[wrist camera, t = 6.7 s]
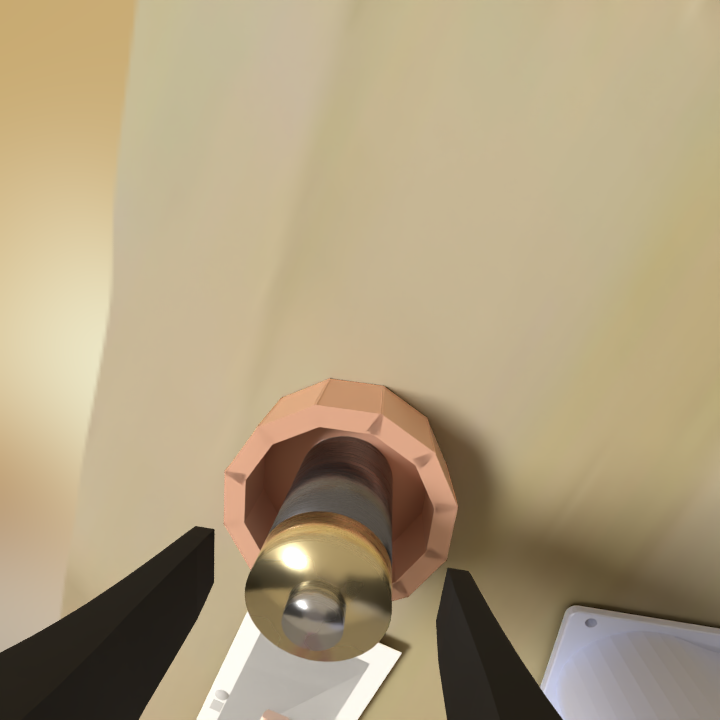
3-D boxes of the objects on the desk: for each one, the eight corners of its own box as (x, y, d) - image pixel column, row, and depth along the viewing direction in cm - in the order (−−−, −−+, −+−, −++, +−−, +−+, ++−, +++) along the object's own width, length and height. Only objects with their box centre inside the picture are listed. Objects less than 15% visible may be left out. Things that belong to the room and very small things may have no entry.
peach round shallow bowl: (459, 395, 15) (475, 426, 12) (426, 564, 17) (433, 625, 14) (256, 368, 15) (225, 391, 13) (250, 536, 18) (222, 589, 15)
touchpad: (401, 631, 19) (402, 676, 17) (297, 790, 23) (288, 843, 21) (264, 572, 19) (249, 610, 17) (184, 743, 23) (163, 791, 21)
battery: (401, 446, 15) (406, 580, 8) (383, 527, 16) (375, 700, 10) (306, 427, 15) (242, 545, 9) (295, 508, 16) (229, 666, 10)
